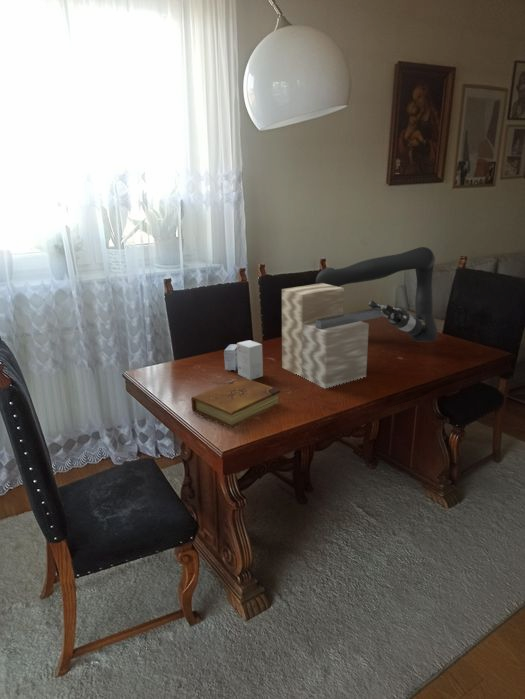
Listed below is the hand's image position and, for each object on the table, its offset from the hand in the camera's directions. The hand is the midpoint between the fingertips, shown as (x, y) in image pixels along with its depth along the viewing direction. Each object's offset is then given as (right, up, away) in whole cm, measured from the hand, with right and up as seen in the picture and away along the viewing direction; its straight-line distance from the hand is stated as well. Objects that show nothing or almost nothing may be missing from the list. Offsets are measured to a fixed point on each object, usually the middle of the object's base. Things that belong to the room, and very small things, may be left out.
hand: (377, 304), depth 194 cm
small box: (-49, -27, +1) cm, 56 cm away
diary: (-53, -37, -26) cm, 70 cm away
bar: (-12, -7, -6) cm, 15 cm away
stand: (-21, -26, +3) cm, 33 cm away
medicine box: (-56, -25, +10) cm, 62 cm away
